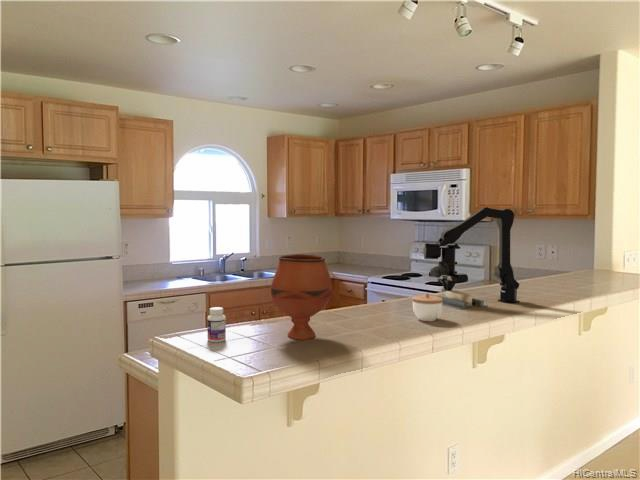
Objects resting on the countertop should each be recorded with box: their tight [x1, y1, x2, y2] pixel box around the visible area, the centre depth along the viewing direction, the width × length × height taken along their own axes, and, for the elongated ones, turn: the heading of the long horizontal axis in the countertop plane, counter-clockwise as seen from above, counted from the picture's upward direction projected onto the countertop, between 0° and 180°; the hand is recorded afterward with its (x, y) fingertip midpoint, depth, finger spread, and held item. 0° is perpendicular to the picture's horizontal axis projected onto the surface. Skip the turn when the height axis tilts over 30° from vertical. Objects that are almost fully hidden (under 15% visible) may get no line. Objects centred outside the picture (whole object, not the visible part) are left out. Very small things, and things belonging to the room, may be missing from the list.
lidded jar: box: [411, 292, 443, 322], centre depth 185 cm, size 11×11×9 cm
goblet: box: [270, 253, 333, 340], centre depth 159 cm, size 19×19×25 cm
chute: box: [436, 295, 489, 310], centre depth 214 cm, size 15×16×2 cm
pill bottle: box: [206, 306, 227, 343], centre depth 154 cm, size 5×5×10 cm
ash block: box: [444, 289, 473, 307], centre depth 214 cm, size 6×10×5 cm, turn 22°
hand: (447, 295), depth 220 cm, fingers closed
